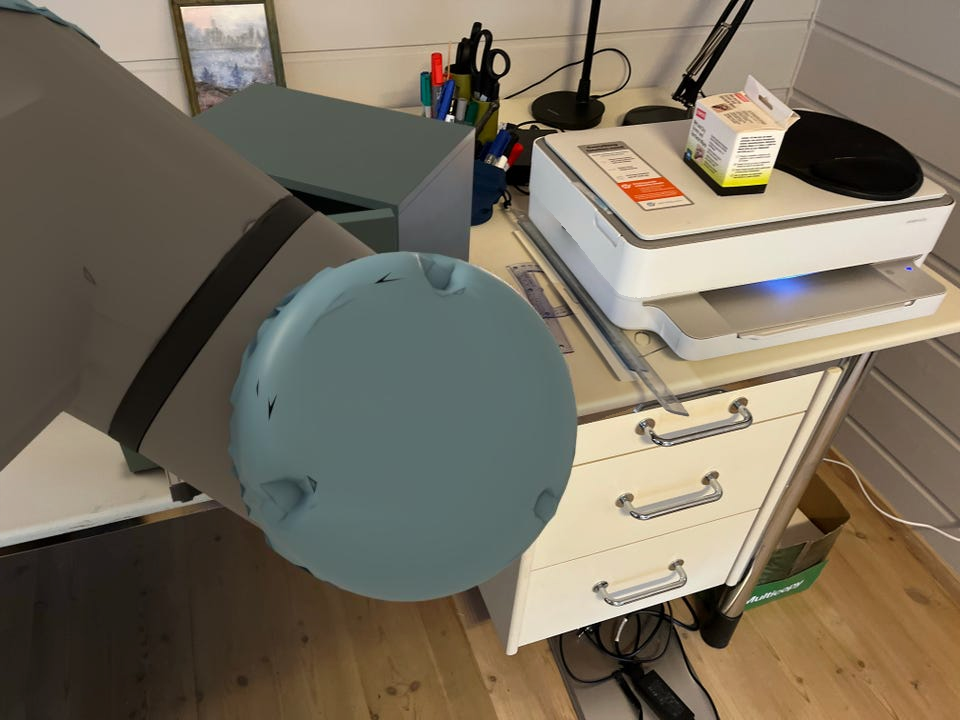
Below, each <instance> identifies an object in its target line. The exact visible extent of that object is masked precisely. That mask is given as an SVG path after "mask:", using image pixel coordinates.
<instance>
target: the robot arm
mask: <svg viewBox="0 0 960 720" xmlns="http://www.w3.org/2000/svg"><path fill="white" fill-rule="evenodd" d="M191 118H192V117H190V116H189V115H187V114H186V113H185V112H183V110H181V109H179V107H177V106H176V105H174V104H173V103H172V102H170V101H169V100H168V99H167V98H165V97H164V96H163V95H161V94H160V93H158V92H157V91H156V90H154V89H153V88H152V87H151V86H149V85H148V84H146V83H145V82H144V81H143V80H141V79H140V78H139V77H137V76H136V75H135V74H134V73H132V72H131V71H129V70H128V69H127V68H125V67H124V66H123V65H121V63H119V62H118V61H117V60H115V59H114V58H113V57H111V56H110V55H108V54H107V53H106V52H105V51H104V50H103V49H101V45H100V44H99V43H98V42H97V41H96V40H94V38H92V37H91V36H90V35H89V34H88V33H87V32H86V31H84V29H82V28H81V27H79V26H78V25H77V24H75V23H73V22H70V21H67V20H66V19H65V20H64V19H63V18H62V17H60V16H59V15H58V14H56V13H55V12H52V11H51V10H50V9H49V8H48V7H47V6H39V7H38V6H37V5H35V4H33V3H32V2H30V0H0V473H1V472H2V471H3V470H4V469H6V467H7V466H8V465H9V464H11V462H12V461H13V460H15V459H16V457H17V456H19V454H20V453H22V452H23V451H24V449H26V448H27V447H28V446H29V445H30V444H31V443H32V442H33V441H34V440H35V439H36V438H37V437H38V436H39V435H40V434H41V433H42V432H43V431H44V430H45V429H47V427H48V426H49V425H50V424H51V423H52V422H53V421H54V420H55V419H56V418H57V417H59V415H60V414H61V413H65V414H67V415H69V416H71V417H73V418H75V419H77V420H79V421H80V422H82V423H84V424H86V425H88V426H90V427H92V428H93V429H96V430H97V431H99V432H101V433H103V434H104V435H106V436H107V437H109V438H111V439H112V440H114V441H115V442H117V443H118V444H119V443H120V444H122V445H124V446H125V447H127V448H129V449H130V450H132V451H134V452H135V453H140V454H142V455H144V456H145V457H147V458H148V459H150V460H151V461H153V462H154V463H156V464H158V465H159V466H161V468H162V469H163V470H164V473H165V475H166V479H167V480H166V481H167V484H168V490H169V492H170V496H171V501H172V503H176V502H180V503H181V504H185V503H189V502H192V501H194V498H195V497H197V496H200V495H202V494H204V495H206V496H207V497H209V498H211V499H212V500H214V501H216V502H217V503H218V504H220V505H222V506H223V507H225V508H226V509H228V510H229V511H232V512H233V513H234V514H236V515H238V516H239V517H241V518H243V519H244V520H246V521H247V522H249V523H250V524H252V525H253V526H256V527H257V528H258V529H260V530H262V531H263V533H264V537H265V543H266V545H267V546H268V547H270V549H272V550H273V551H274V552H275V553H277V554H279V555H280V556H281V557H282V558H283V559H285V560H287V561H288V562H290V563H292V564H293V565H294V566H297V568H299V569H301V570H303V571H304V572H306V573H308V574H309V575H311V576H312V577H314V578H316V579H318V580H320V581H323V582H325V583H327V584H329V585H331V586H332V587H334V588H336V589H340V590H343V591H346V592H350V593H353V594H356V595H359V596H362V597H367V598H371V599H375V600H381V601H388V602H401V603H402V602H404V603H405V602H407V603H408V602H410V603H411V602H425V601H426V602H427V601H431V600H436V599H443V598H446V597H449V596H453V595H455V594H459V593H463V592H465V591H467V590H470V589H472V588H474V587H477V586H479V585H481V584H483V583H485V582H487V581H489V580H491V579H492V578H493V577H495V576H497V575H498V574H499V573H501V572H503V571H504V570H506V569H507V568H508V567H510V566H511V565H512V564H513V563H514V562H515V561H518V559H519V558H521V557H522V555H523V554H525V553H526V552H527V551H528V549H529V548H530V547H532V545H533V544H534V542H536V540H537V539H538V538H539V537H540V536H541V534H542V532H543V531H544V529H545V528H546V526H547V525H548V524H549V522H550V521H551V520H552V519H553V518H554V517H555V516H556V515H557V511H558V509H559V505H560V504H561V501H562V498H563V496H564V494H565V492H566V490H567V487H568V484H569V481H570V477H571V475H572V470H573V465H574V462H575V461H574V460H575V457H576V450H577V449H576V448H577V441H578V440H577V439H578V423H579V420H578V408H577V407H578V406H577V401H576V395H575V390H574V383H573V380H572V376H571V371H570V368H569V365H568V362H567V360H566V357H565V356H564V353H563V351H562V349H561V347H560V345H559V343H558V341H557V339H556V336H555V335H554V333H553V332H552V330H551V329H550V327H549V326H548V325H547V322H545V320H544V319H543V317H542V316H541V315H540V313H539V312H538V311H537V309H536V308H535V307H534V306H533V305H532V303H530V302H529V300H527V299H526V297H525V296H523V294H522V293H520V292H519V291H518V290H517V289H516V288H515V287H513V286H512V285H510V284H509V283H508V282H507V281H505V280H504V279H502V278H500V277H499V276H497V275H495V274H494V273H493V272H491V271H489V270H486V269H485V268H483V267H481V266H479V265H476V264H473V263H470V262H469V263H468V262H465V261H462V260H460V259H455V258H451V257H447V256H443V255H439V254H431V253H420V252H414V251H403V252H391V253H381V254H377V253H376V252H374V251H373V250H372V249H370V248H369V247H368V246H366V245H365V244H364V243H362V242H361V241H360V240H358V239H357V238H356V237H354V236H353V235H352V234H350V233H349V232H347V231H346V230H345V229H343V228H342V227H341V226H339V225H338V224H337V223H335V222H334V221H332V220H331V219H329V218H328V217H326V216H325V215H323V214H322V213H321V212H318V211H317V212H315V211H314V210H312V209H311V208H310V207H308V206H307V205H306V204H304V203H303V202H302V201H300V200H299V199H298V198H296V197H293V194H292V193H290V192H289V191H288V190H286V189H285V188H284V187H282V186H281V185H279V184H278V183H277V182H275V181H274V180H273V179H271V178H270V177H269V176H267V175H266V174H265V173H263V172H262V171H261V170H259V169H258V168H257V167H255V166H254V165H253V164H251V163H250V162H249V161H247V160H246V159H245V158H243V157H242V156H241V155H239V154H238V153H237V152H235V151H234V150H233V149H231V148H230V147H229V146H227V145H226V144H224V143H223V142H222V141H220V140H219V139H218V138H216V137H215V136H214V135H212V134H211V133H210V132H208V131H207V130H206V129H204V128H203V127H202V126H201V125H199V124H198V123H197V122H195V121H194V120H193V119H191ZM120 444H119V445H120Z"/></svg>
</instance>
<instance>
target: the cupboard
mask: <svg viewBox="0 0 960 720" xmlns="http://www.w3.org/2000/svg"><path fill="white" fill-rule="evenodd" d="M190 118H191V119H193V120H194V121H195V122H197V123H198V124H199V125H201V126H202V127H203V128H204V129H206V130H207V131H208V132H210V133H211V134H212V135H214V136H215V137H216V138H218V139H219V140H220V141H222V142H223V143H224V144H226V145H227V146H229V147H230V148H231V149H233V150H234V151H235V152H237V153H238V154H239V155H241V156H242V157H243V158H245V159H246V160H247V161H249V162H250V163H251V164H253V165H254V166H255V167H257V168H258V169H259V170H261V171H262V172H263V173H265V174H266V175H267V176H269V177H270V178H271V179H273V180H274V181H275V182H277V183H278V184H279V185H281V186H282V187H284V188H285V189H286V190H288V191H289V192H290V193H292V194H293V197H296V198H298V199H299V200H300V201H302V202H303V203H304V204H306V205H307V206H308V207H310V208H311V209H312V210H314V211H315V212H317V211H318V212H321V213H322V214H323V215H325V216H327V215H335V214H344V213H352V212H361V211H369V210H377V209H386V208H391V210H392V212H393V214H394V216H395V240H396V252H403V251H414V252H420V253H431V254H439V255H443V256H447V257H451V258H455V259H460V260H462V261H465V262H468V263H470V248H471V247H470V246H471V245H470V244H471V226H472V205H473V187H474V186H473V183H474V163H475V147H476V145H475V144H476V142H475V141H476V127H475V126H471V125H468V124H467V125H466V124H461V123H457V122H453V121H447V120H442V119H437V118H433V117H427V116H423V115H418V114H413V113H408V112H404V111H398V110H394V109H389V108H385V107H381V106H375V105H371V104H365V103H361V102H356V101H352V100H351V101H350V100H346V99H343V98H342V99H341V98H337V97H331V96H327V95H322V94H319V93H318V94H317V93H312V92H308V91H303V90H299V89H294V88H288V87H285V86H280V85H279V86H278V85H274V84H270V83H265V82H259V81H255V82H254V83H252V84H250V85H247V86H246V87H245V88H243V89H241V90H239V91H237V92H235V93H233V94H232V95H230V96H228V97H227V98H225V99H223V100H221V101H220V102H218V103H215V104H214V105H213V106H211V107H209V108H207V109H205V110H203V111H202V112H200V113H198V114H196V115H194V116H193V117H190Z"/></svg>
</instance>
